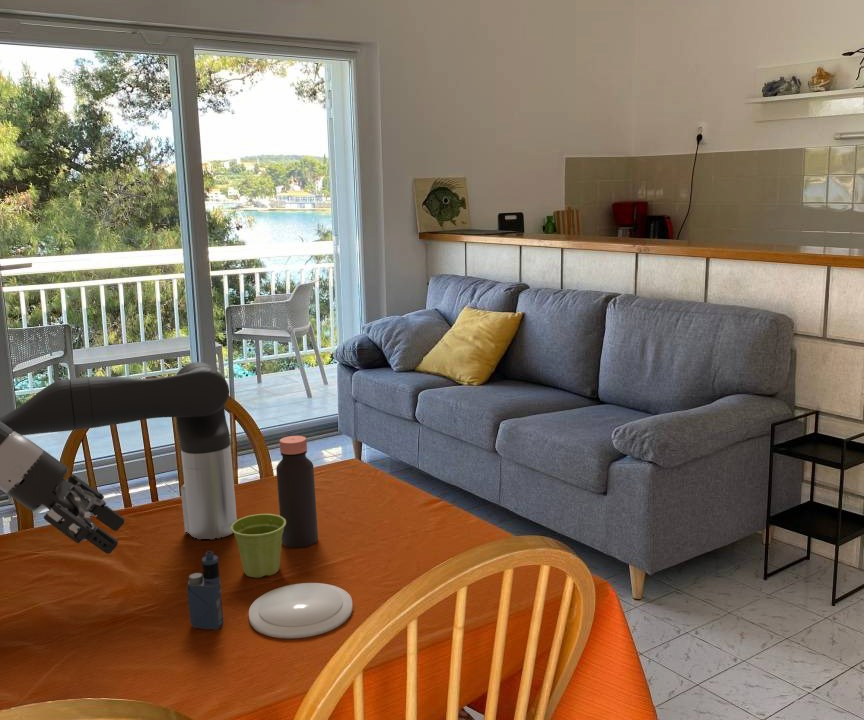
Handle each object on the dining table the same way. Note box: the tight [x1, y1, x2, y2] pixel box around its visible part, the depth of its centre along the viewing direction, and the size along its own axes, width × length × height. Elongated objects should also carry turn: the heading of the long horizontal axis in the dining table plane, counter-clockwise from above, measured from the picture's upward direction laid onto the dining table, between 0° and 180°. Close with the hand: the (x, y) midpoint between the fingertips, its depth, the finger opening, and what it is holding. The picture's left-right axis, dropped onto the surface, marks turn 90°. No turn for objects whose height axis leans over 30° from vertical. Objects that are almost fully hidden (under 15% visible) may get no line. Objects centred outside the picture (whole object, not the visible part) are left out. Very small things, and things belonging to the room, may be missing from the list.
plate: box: [248, 582, 353, 639], centre depth 134 cm, size 16×16×1 cm
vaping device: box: [186, 550, 224, 631], centre depth 130 cm, size 3×5×12 cm, turn 79°
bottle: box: [275, 435, 319, 549], centre depth 159 cm, size 7×7×20 cm
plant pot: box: [231, 513, 286, 579], centre depth 148 cm, size 9×9×9 cm
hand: (117, 536), depth 125 cm, fingers open, 8 cm apart
